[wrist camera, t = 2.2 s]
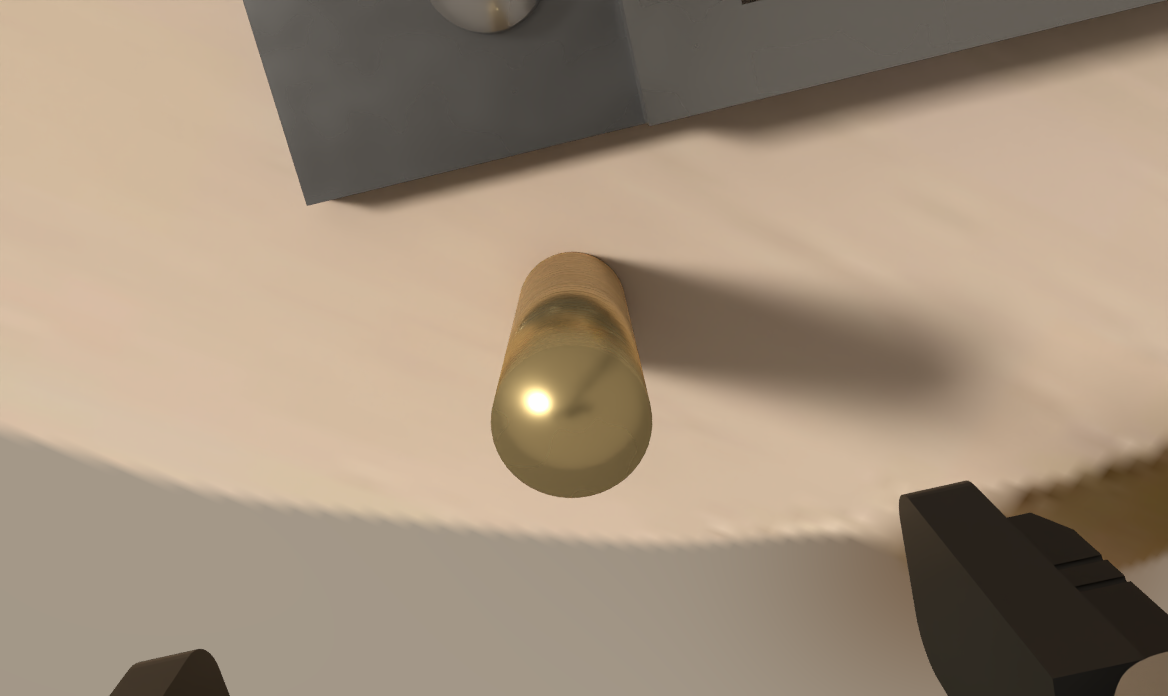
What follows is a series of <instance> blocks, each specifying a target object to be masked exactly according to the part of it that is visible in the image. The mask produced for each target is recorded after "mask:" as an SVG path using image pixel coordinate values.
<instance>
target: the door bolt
mask: <svg viewBox="0 0 1168 696" xmlns="http://www.w3.org/2000/svg"><path fill="white" fill-rule="evenodd" d="M1161 1H1165V0H759V1H755V2H751V3H747V4H743V5H742V1H741V0H243V2H244V6H245V9H246V12H247V15H248V18H249V22H250V25H251V28H252V31H253V34H254V38H255V41H256V44H257V47H258V50H259V54H260V57H261V60H262V63H263V66H264V70H265V73H266V76H267V79H268V82H269V86H270V89H271V92H272V95H273V98H274V102H275V105H276V108H277V111H278V115H279V118H280V121H281V124H282V127H283V131H284V134H285V137H286V140H287V143H288V147H289V150H290V153H291V156H292V159H293V163H294V166H295V169H296V172H297V175H298V179H299V182H300V185H301V188H302V191H303V195H304V198H305V201H306V204H307V206H308V205H312V204H317V203H321V202H325V201H329V200H333V199H337V198H341V197H345V196H349V195H353V194H357V193H362V192H366V191H370V190H374V189H378V188H382V187H386V186H390V185H394V184H398V183H403V182H407V181H411V180H415V179H419V178H423V177H427V176H431V175H435V174H439V173H444V172H448V171H452V170H456V169H460V168H464V167H468V166H472V165H476V164H480V163H485V162H489V161H493V160H497V159H501V158H505V157H509V156H513V155H517V154H521V153H526V152H530V151H534V150H538V149H542V148H546V147H550V146H554V145H558V144H562V143H566V142H571V141H575V140H579V139H583V138H587V137H591V136H595V135H599V134H603V133H607V132H612V131H616V130H620V129H624V128H628V127H632V126H636V125H640V124H644V123H645V124H647V125H648V126H652V125H656V124H660V123H665V122H669V121H673V120H677V119H681V118H685V117H689V116H693V115H697V114H701V113H706V112H710V111H714V110H718V109H722V108H726V107H730V106H734V105H738V104H742V103H747V102H751V101H755V100H759V99H763V98H767V97H771V96H775V95H779V94H783V93H788V92H792V91H796V90H800V89H804V88H808V87H812V86H816V85H820V84H825V83H829V82H833V81H837V80H841V79H845V78H849V77H853V76H857V75H861V74H866V73H870V72H874V71H878V70H882V69H886V68H890V67H894V66H898V65H902V64H907V63H911V62H915V61H919V60H923V59H927V58H931V57H935V56H939V55H943V54H948V53H952V52H956V51H960V50H964V49H968V48H972V47H976V46H980V45H984V44H989V43H993V42H997V41H1001V40H1005V39H1009V38H1013V37H1017V36H1021V35H1025V34H1030V33H1034V32H1038V31H1042V30H1046V29H1050V28H1054V27H1058V26H1062V25H1066V24H1071V23H1075V22H1079V21H1083V20H1087V19H1091V18H1095V17H1099V16H1103V15H1107V14H1112V13H1116V12H1120V11H1124V10H1128V9H1132V8H1136V7H1140V6H1144V5H1149V4H1153V3H1157V2H1161Z"/></svg>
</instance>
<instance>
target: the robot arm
mask: <svg viewBox="0 0 1168 696" xmlns="http://www.w3.org/2000/svg"><path fill="white" fill-rule="evenodd" d="M899 515H900V522H901V528H902V534H903V540H904V546H905V552H906V558H907V564H908V570H909V576H910V582H911V587H912V593H913V600H914V605H915V611H916V617H917V623H918V627H919V631H920V635H921V639H922V642H923V645H924V648H925V651H926V654H927V657H928V659H929V662H930V664H931V666H932V669H933V671H934V673H935V675H936V677H937V678H938V680H939V682H940V683H941V685H942V687H943V688H944V690H945V691H946V693H947V695H948V696H1168V614H1167V613H1165V612H1164V611H1163V610H1162V609H1161V608H1160V607H1159V606H1158V605H1157V604H1155V603H1154V602H1153V601H1152V600H1151V599H1150V598H1149V597H1148V596H1147V595H1145V594H1144V593H1143V592H1142V591H1141V590H1140V589H1139V588H1138V587H1137V586H1135V585H1134V584H1133V583H1132V582H1131V581H1130V582H1127V581H1126V579H1125V576H1124V575H1123V574H1122V573H1121V572H1120V571H1119V570H1118V569H1117V568H1115V567H1114V566H1113V565H1112V564H1111V563H1110V562H1109V561H1108V560H1103V559H1102V556H1101V554H1100V553H1099V552H1098V551H1097V550H1095V549H1094V548H1093V547H1092V546H1091V545H1090V544H1089V543H1088V542H1087V541H1085V540H1084V539H1083V538H1082V537H1081V536H1080V535H1079V534H1078V533H1077V532H1075V531H1074V530H1073V529H1070V528H1068V527H1065V526H1063V525H1060V524H1058V523H1055V522H1053V521H1050V520H1048V519H1045V518H1043V517H1040V516H1038V515H1035V514H1033V513H1027V514H1022V515H1017V516H1013V517H1008V518H1006V517H1005V516H1004V515H1003V514H1002V513H1001V512H1000V511H999V510H998V509H997V508H996V507H995V506H994V505H993V504H992V503H991V502H990V500H989V499H988V498H987V497H986V496H985V495H984V494H983V493H982V492H981V491H980V490H979V489H978V488H977V487H976V486H975V485H974V484H972V483H971V482H970V481H962V482H958V483H953V484H949V485H944V486H940V487H935V488H931V489H926V490H922V491H917V492H913V493H908V494H904V495H901V496H900V499H899ZM110 696H230V695H229V693H228V690H227V687H226V685H225V682H224V680H223V677H222V675H221V672H220V669H219V667H218V665H217V663H216V661H215V659H214V658H213V656H212V655H211V654H210V653H209V652H207V651H206V650H204V649H197V650H192V651H187V652H183V653H179V654H174V655H169V656H165V657H160V658H156V659H151V660H147V661H142V662H139V663H136V664H135V665H133V666H132V667H131V668H130V669H129V670H128V672H127V673H126V674H125V676H124V677H123V678H122V680H121V681H120V682H119V684H118V685H117V686H116V688H115V689H114V690H113V692H112V693H111V694H110Z"/></svg>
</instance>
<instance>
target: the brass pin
mask: <svg viewBox="0 0 1168 696" xmlns="http://www.w3.org/2000/svg"><path fill="white" fill-rule="evenodd" d="M491 430H492V436H493V441H494V444H495V447H496V449H497V452H498V454H499V456H500V458H501V459H502V461H503V462H504V464H505V465H506V467H507V468H508V469H509V470H510V471H511V472H512V473H513V475H514V476H516V477H517V478H518V479H519V480H520V481H522V482H523V483H525V484H526V485H528V486H529V487H531V488H533V489H535V490H537V491H539V492H542V493H545V494H548V495H552V496H557V497H565V498H580V497H586V496H591V495H595V494H598V493H601V492H604V491H606V490H608V489H610V488H612V487H614V486H615V485H617V484H619V483H620V482H621V481H623V480H624V479H625V478H626V477H627V476H628V475H630V474H631V473H632V472H633V471H634V469H635V468H636V467H637V465H638V464H639V463H640V461H641V459H642V458H643V456H644V454H645V452H646V449H647V447H648V445H649V441H650V437H651V431H652V412H651V406H650V402H649V397H648V393H647V389H646V384H645V380H644V376H643V372H642V367H641V363H640V359H639V354H638V350H637V346H636V341H635V337H634V333H633V329H632V324H631V320H630V316H629V311H628V307H627V303H626V298H625V294H624V290H623V287H622V285H621V282H620V280H619V278H618V277H617V275H616V274H615V272H614V271H613V270H612V269H611V268H610V267H609V266H608V265H607V264H606V263H604V262H603V261H601V260H600V259H598V258H596V257H594V256H591V255H588V254H585V253H579V252H565V253H560V254H556V255H553V256H551V257H549V258H547V259H545V260H543V261H542V262H540V263H539V264H538V265H537V266H536V267H535V268H534V269H533V270H532V271H531V272H530V273H529V275H528V276H527V278H526V280H525V282H524V284H523V286H522V289H521V293H520V297H519V301H518V305H517V309H516V313H515V317H514V321H513V326H512V330H511V334H510V338H509V342H508V346H507V350H506V354H505V358H504V362H503V366H502V370H501V374H500V378H499V382H498V386H497V390H496V395H495V399H494V403H493V407H492V413H491Z"/></svg>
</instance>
